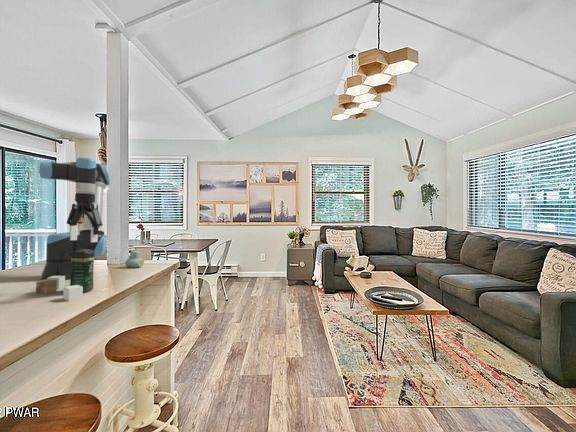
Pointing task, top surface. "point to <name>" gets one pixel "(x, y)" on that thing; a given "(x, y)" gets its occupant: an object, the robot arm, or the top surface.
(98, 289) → the top surface
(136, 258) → the air freshener
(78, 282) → the coffee jar
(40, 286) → the walnut block
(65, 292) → the off-white block
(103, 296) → the top surface
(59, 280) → the sage block
